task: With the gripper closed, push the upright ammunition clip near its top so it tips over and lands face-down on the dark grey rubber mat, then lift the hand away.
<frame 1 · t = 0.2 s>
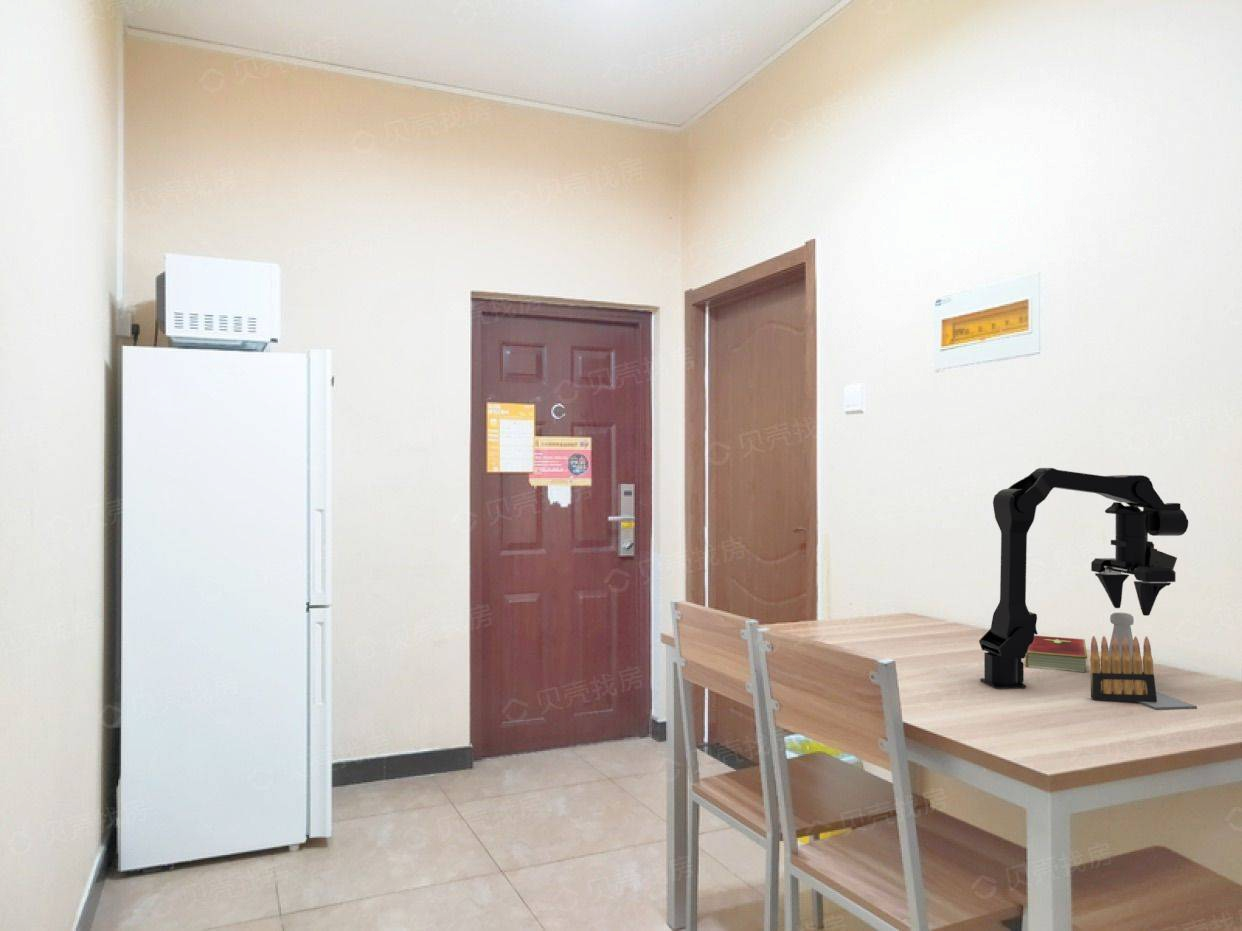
hand: (1131, 611, 177), 14 cm above the table, tool pointing down, fingers open, 9 cm apart
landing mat: (1153, 700, 163), on the table
hardcover book: (1056, 663, 197), on the table
salt shaker: (1121, 675, 183), on the table
ammunition clip: (1123, 700, 162), on the table, touching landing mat
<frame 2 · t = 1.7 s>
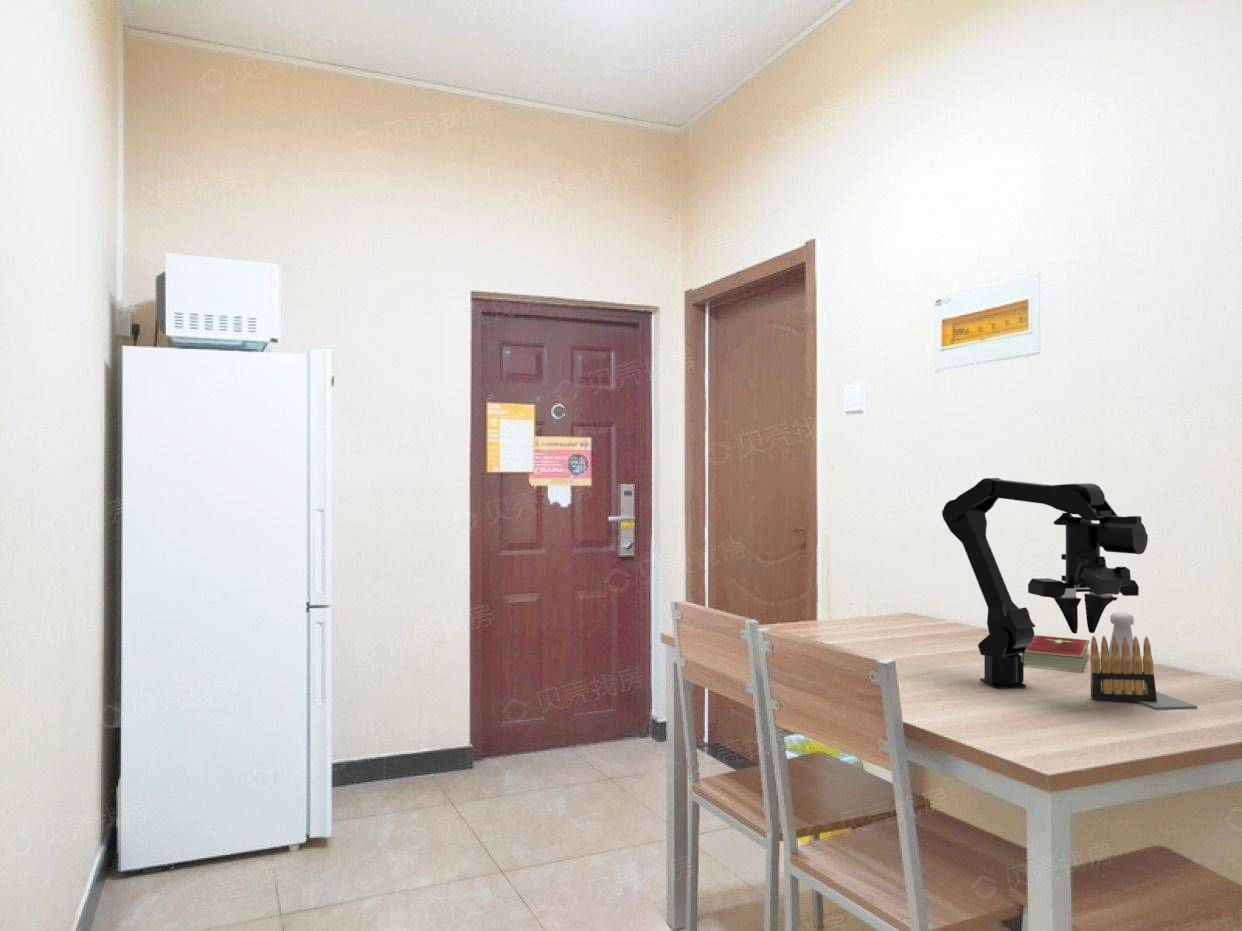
hand: (1082, 633, 161), 13 cm above the table, tool pointing down, fingers open, 3 cm apart
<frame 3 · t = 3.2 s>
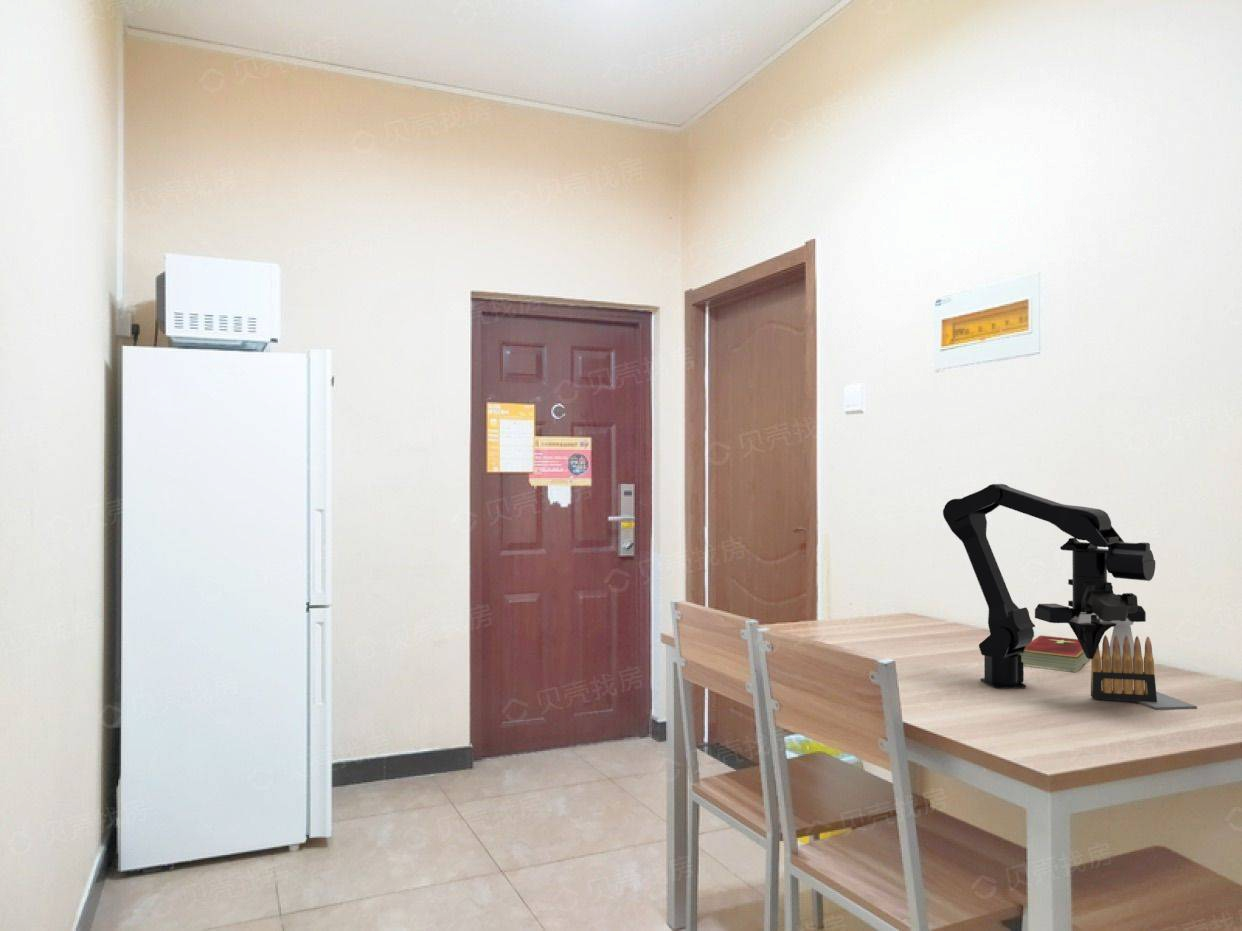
hand: (1089, 658, 162), 8 cm above the table, tool pointing down, fingers closed
ammunition clip: (1123, 700, 162), on the table, touching gripper, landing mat
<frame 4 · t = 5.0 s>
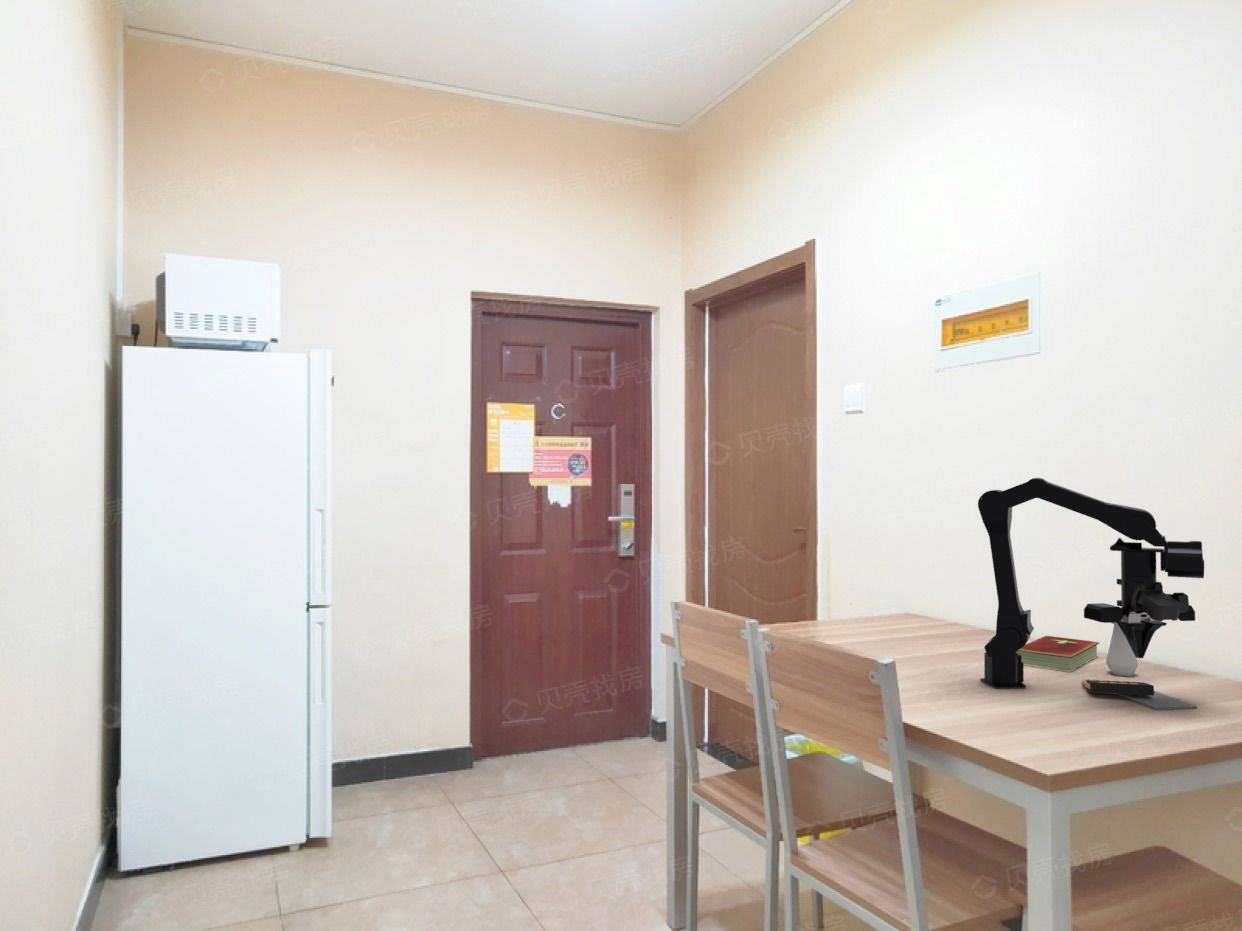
hand: (1139, 657, 162), 8 cm above the table, tool pointing down, fingers closed
ammunition clip: (1122, 689, 163), point 2 cm above the table, touching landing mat
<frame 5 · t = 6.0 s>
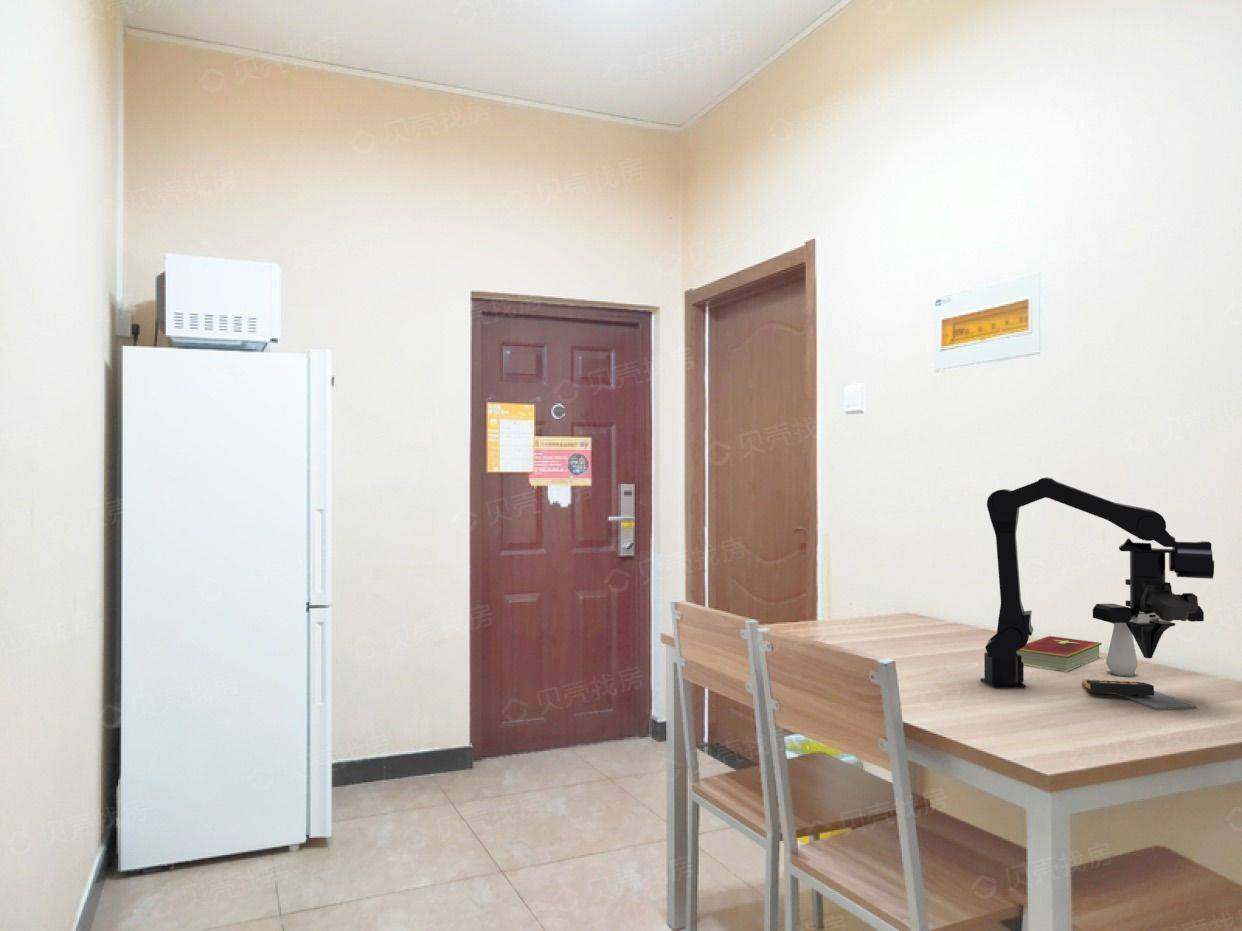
hand: (1147, 658, 163), 8 cm above the table, tool pointing down, fingers closed
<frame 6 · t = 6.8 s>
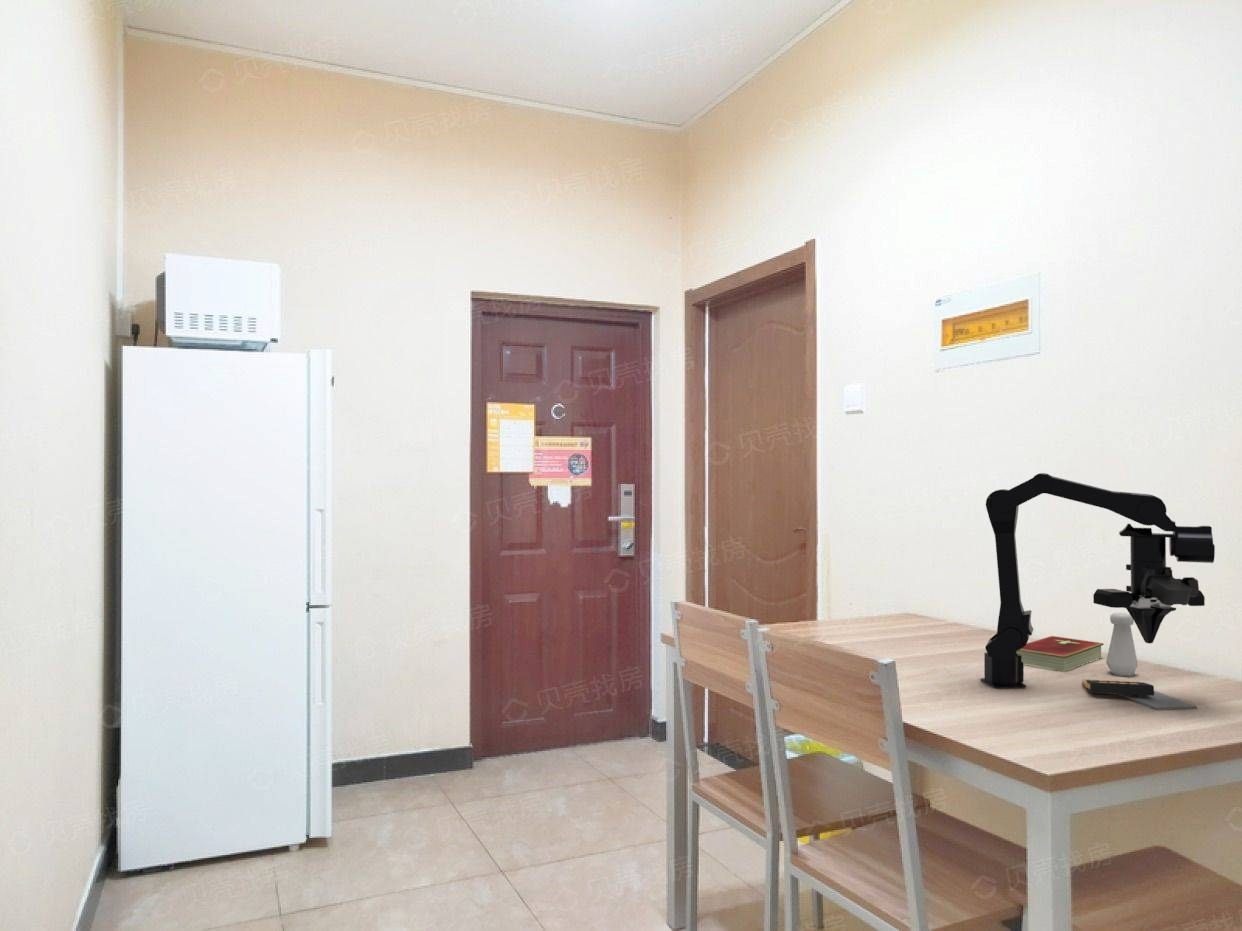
hand: (1148, 643, 163), 11 cm above the table, tool pointing down, fingers closed
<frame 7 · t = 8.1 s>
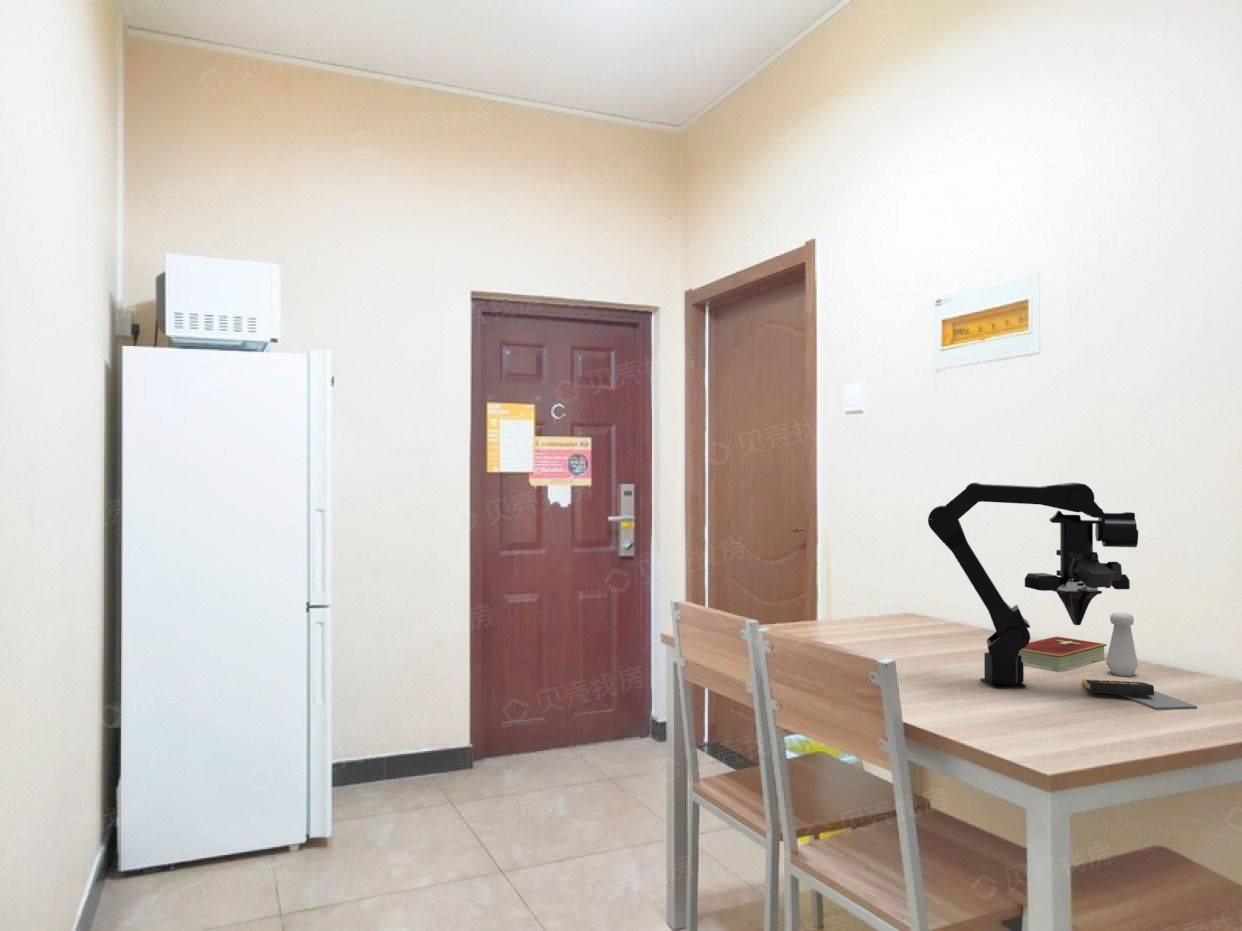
hand: (1076, 624, 170), 13 cm above the table, tool pointing down, fingers closed
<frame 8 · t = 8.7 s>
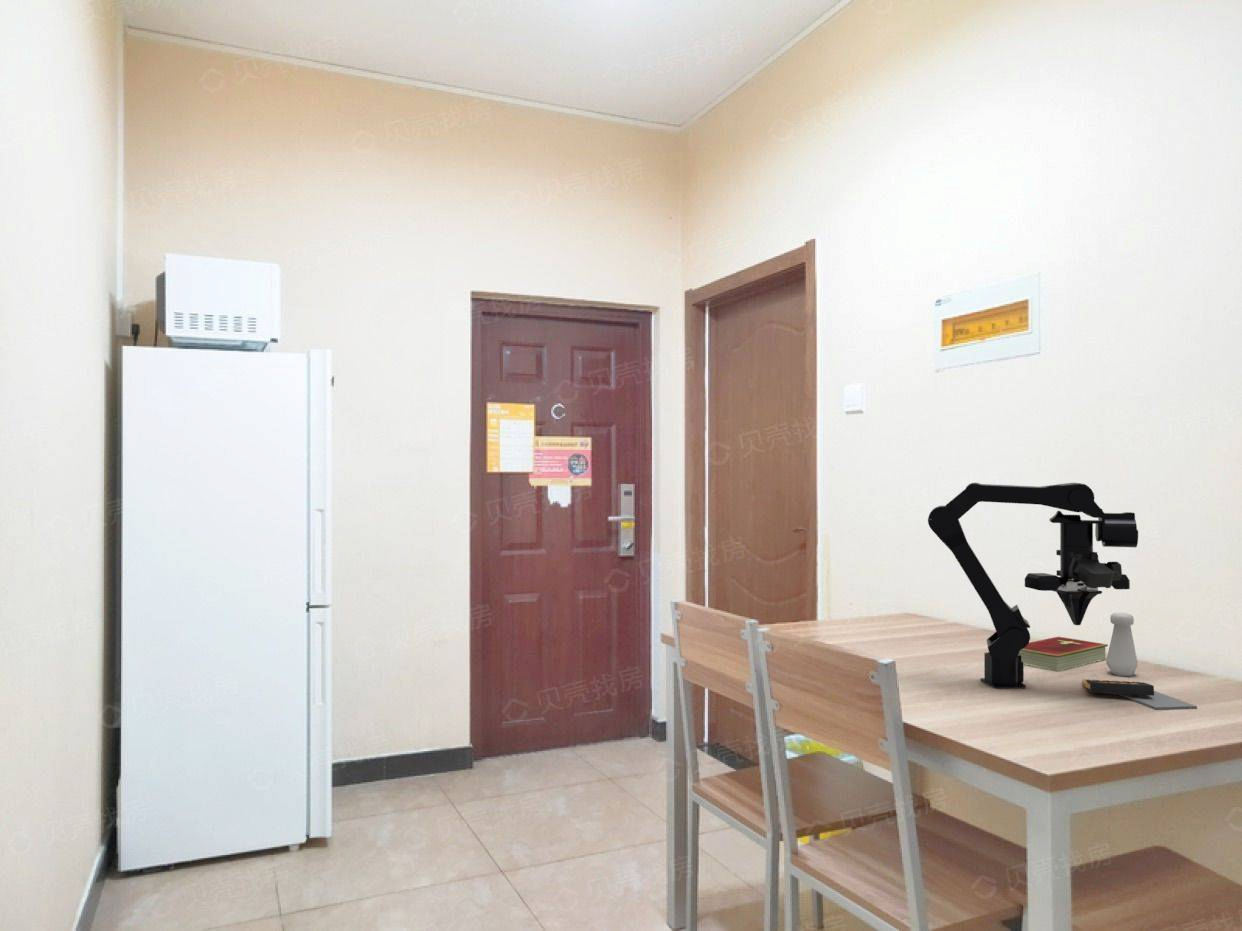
hand: (1076, 624, 170), 13 cm above the table, tool pointing down, fingers closed
at the end: ammunition clip tilted 97°; ammunition clip inside the target area (4.7 cm from its centre), point 2.0 cm above the table; the gripper is holding nothing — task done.
